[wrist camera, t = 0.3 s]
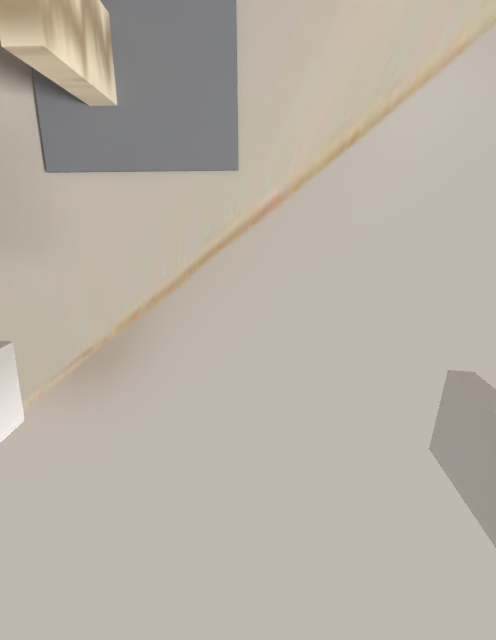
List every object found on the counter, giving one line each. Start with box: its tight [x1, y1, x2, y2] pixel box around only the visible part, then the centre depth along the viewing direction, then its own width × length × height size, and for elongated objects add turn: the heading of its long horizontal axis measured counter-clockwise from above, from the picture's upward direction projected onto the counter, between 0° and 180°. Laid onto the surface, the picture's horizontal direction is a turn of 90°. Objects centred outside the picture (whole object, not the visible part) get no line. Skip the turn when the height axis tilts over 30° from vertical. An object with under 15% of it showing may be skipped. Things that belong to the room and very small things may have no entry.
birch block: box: [0, 0, 117, 106], centre depth 27 cm, size 7×2×12 cm, turn 0°
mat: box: [32, 0, 238, 173], centre depth 32 cm, size 19×18×1 cm
